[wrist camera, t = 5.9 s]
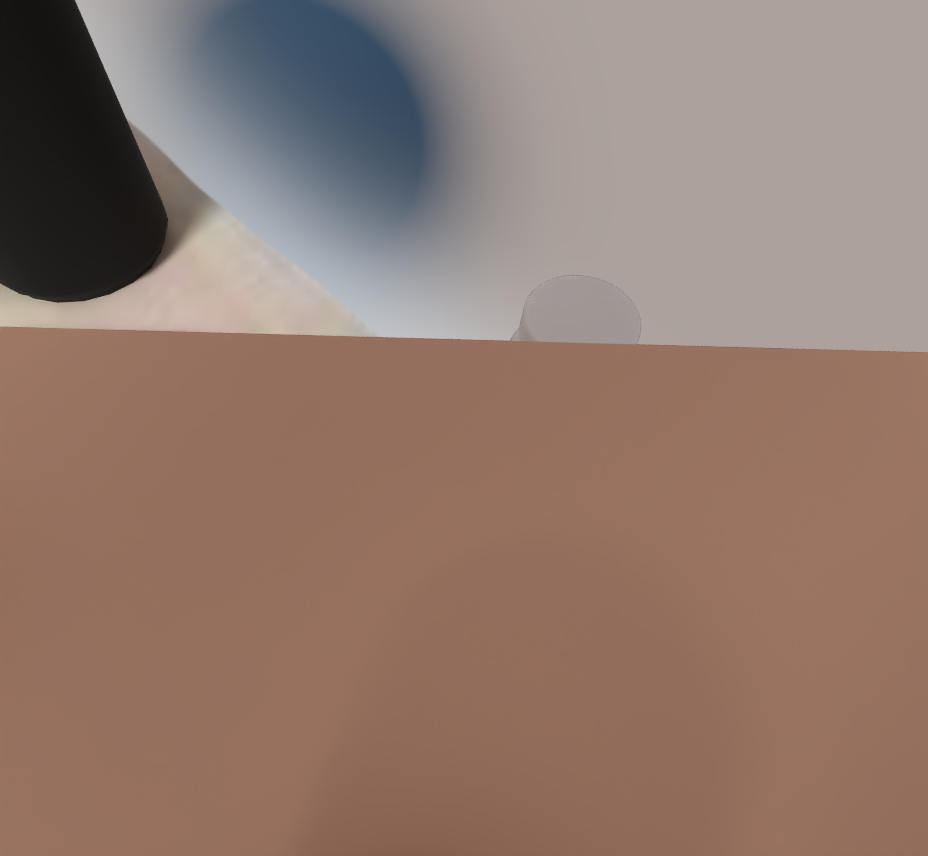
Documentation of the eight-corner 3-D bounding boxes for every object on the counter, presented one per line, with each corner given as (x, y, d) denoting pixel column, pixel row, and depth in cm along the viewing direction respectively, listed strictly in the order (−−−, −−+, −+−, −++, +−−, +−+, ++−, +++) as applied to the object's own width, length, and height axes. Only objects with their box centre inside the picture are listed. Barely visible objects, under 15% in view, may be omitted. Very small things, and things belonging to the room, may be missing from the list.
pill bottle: (536, 383, 35) (567, 244, 27) (621, 441, 33) (683, 311, 25) (470, 449, 33) (481, 319, 24) (558, 516, 31) (603, 399, 23)
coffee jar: (70, 177, 43) (-126, -175, 28) (207, 218, 42) (77, -134, 26) (-48, 281, 38) (-372, -88, 23) (104, 332, 36) (-136, -30, 21)
